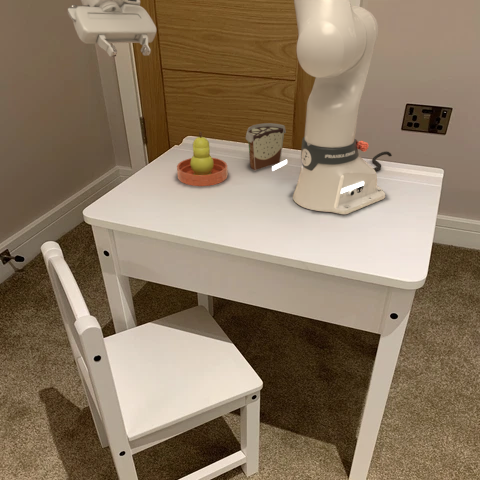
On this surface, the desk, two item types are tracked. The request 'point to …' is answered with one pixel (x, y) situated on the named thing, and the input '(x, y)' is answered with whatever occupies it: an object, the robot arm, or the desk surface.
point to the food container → (265, 144)
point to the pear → (201, 157)
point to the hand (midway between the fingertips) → (131, 54)
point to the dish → (216, 176)
